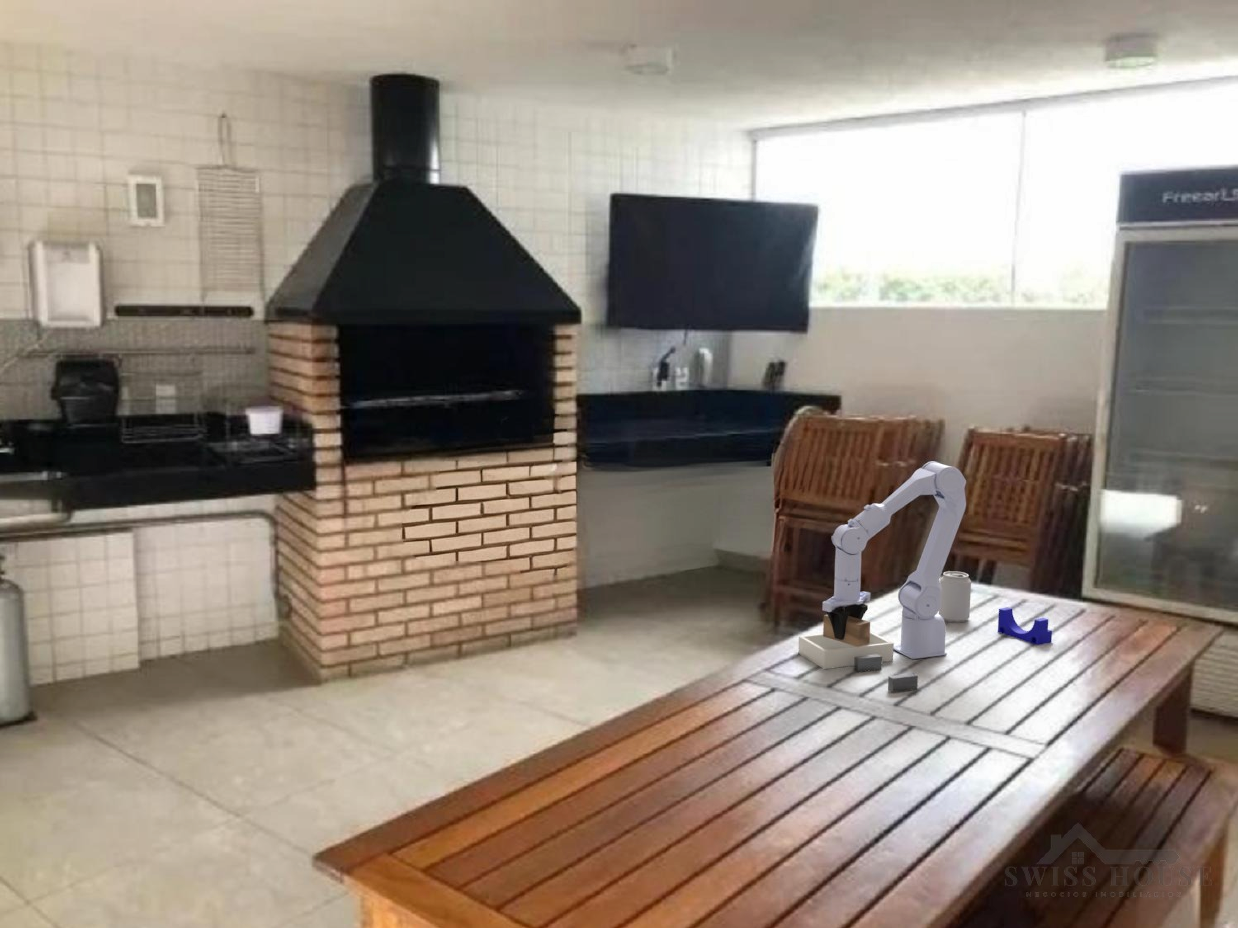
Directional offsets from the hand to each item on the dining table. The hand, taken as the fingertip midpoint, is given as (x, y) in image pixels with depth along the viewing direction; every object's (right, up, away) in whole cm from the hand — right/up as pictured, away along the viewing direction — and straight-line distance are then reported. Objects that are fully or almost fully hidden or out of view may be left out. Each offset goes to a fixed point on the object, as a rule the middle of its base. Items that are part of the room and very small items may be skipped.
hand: (845, 636), depth 238 cm
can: (+34, -1, +30) cm, 46 cm away
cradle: (+5, -7, -14) cm, 17 cm away
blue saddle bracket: (+47, -3, +15) cm, 49 cm away
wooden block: (0, -1, 0) cm, 1 cm away
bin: (0, -5, +1) cm, 5 cm away
